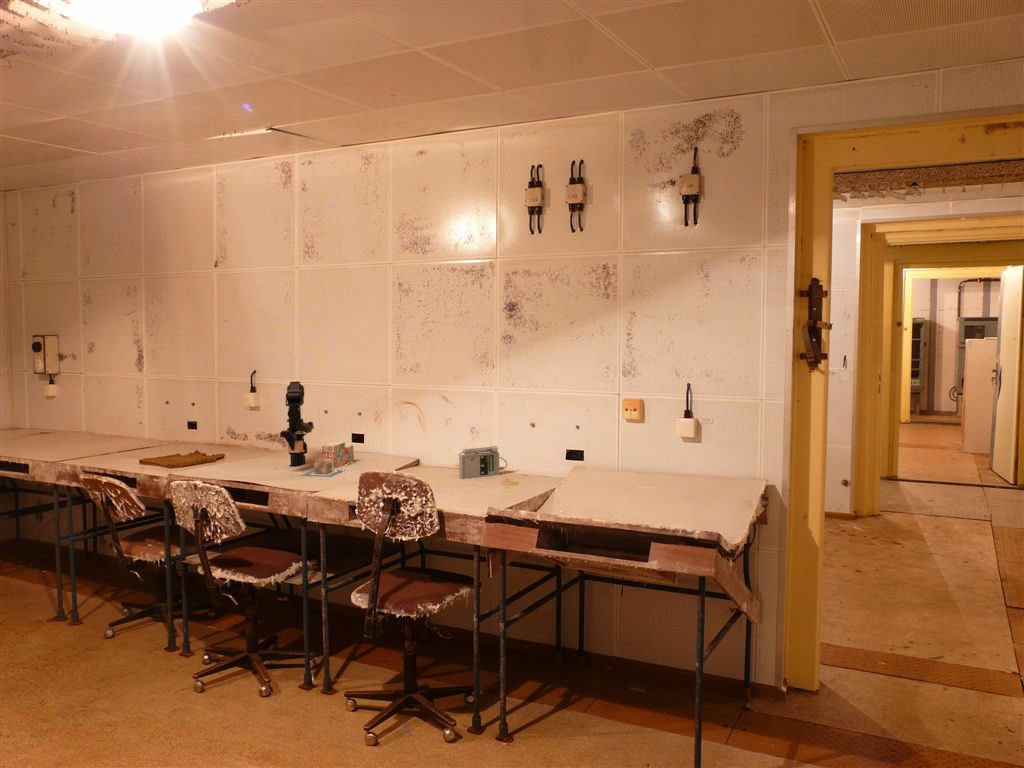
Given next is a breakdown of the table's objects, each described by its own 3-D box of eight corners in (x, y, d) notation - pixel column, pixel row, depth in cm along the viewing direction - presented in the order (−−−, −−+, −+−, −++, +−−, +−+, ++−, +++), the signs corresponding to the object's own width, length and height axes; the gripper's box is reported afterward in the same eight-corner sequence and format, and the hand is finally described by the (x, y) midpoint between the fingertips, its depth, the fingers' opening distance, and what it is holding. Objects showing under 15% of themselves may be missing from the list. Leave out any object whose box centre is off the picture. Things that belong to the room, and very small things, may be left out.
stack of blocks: (343, 462, 410) (342, 438, 409) (354, 462, 409) (353, 439, 408) (322, 470, 390) (321, 445, 389) (334, 470, 388) (333, 445, 387)
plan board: (299, 476, 373) (299, 475, 373) (315, 470, 388) (315, 469, 388) (331, 478, 369) (331, 476, 369) (345, 471, 385) (345, 470, 385)
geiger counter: (461, 449, 364) (510, 445, 375) (456, 447, 369) (504, 443, 381) (462, 479, 365) (510, 474, 376) (456, 477, 370) (504, 472, 382)
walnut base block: (314, 473, 377) (314, 463, 376) (320, 471, 382) (320, 461, 382) (326, 474, 375) (325, 464, 375) (331, 472, 381) (331, 461, 381)
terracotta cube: (288, 452, 377) (288, 442, 377) (293, 450, 382) (293, 440, 381) (298, 452, 376) (297, 442, 376) (303, 450, 381) (302, 440, 380)
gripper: (300, 420, 367) (301, 453, 368) (319, 415, 385) (320, 446, 386) (278, 419, 369) (279, 452, 370) (298, 414, 387) (299, 446, 389)
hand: (295, 449), depth 379 cm, fingers closed on terracotta cube, 5 cm apart
